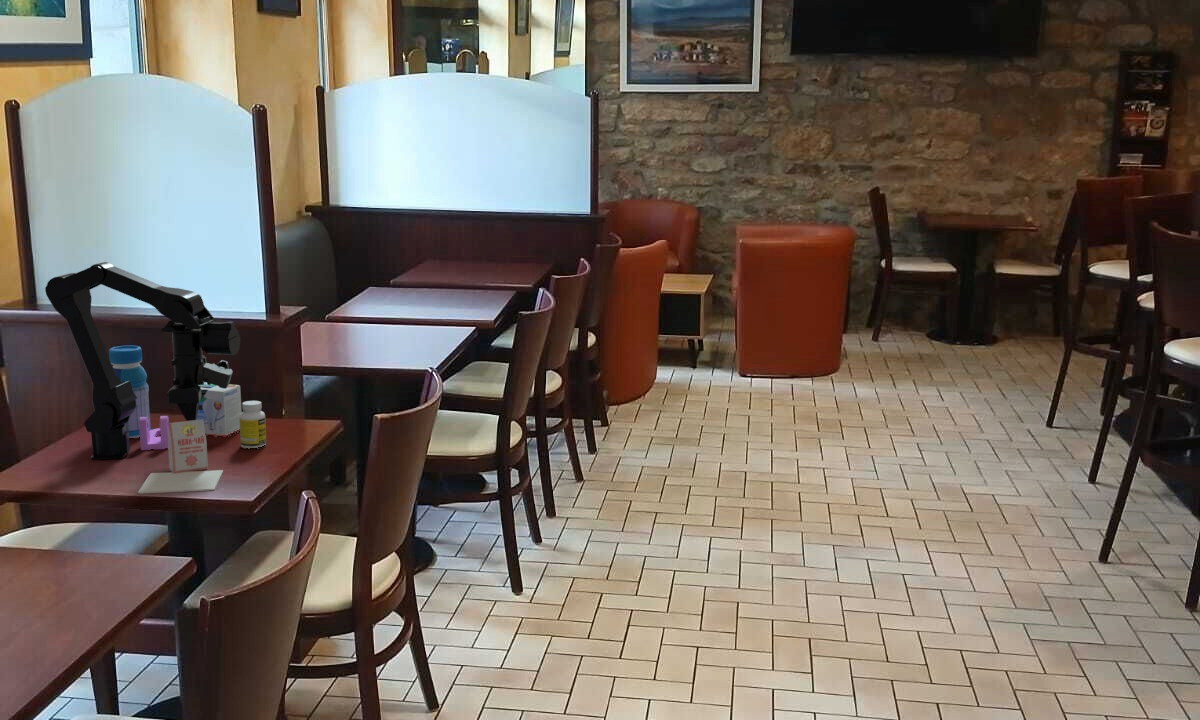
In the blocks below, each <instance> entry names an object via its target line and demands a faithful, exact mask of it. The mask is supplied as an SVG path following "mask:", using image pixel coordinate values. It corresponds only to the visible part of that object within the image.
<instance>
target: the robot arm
mask: <svg viewBox="0 0 1200 720" xmlns="http://www.w3.org/2000/svg"><path fill="white" fill-rule="evenodd" d="M101 285H102V286H105V287H107V288H108V289H111V290H114V291H116V292H119V293H121V294H124V295H126V296H129V297H131V298H133V299H136V300H138V301H140V302H144V303H145V304H147V305H150V306H152V307H153V308H155V309H156V311H157V312H158V313H159V314H160V315H162V316H164V317H165V318H167V319H169V320H168V321H167V323H166V324H165V325H164V326H163V327H162V328H161V329H160V331H161V332H162V333H171V337H172V338H171V339H172V340H171V341H172V352H173V355H172V357H173V359H172V360H171V366H173V369H174V372H173V373H174V379H172V384H173V386H172V387H171V388H170V389H169V390H168V391H167V392H166V393H165V394H166V395H165V396H166V397H165V398H166V403H167V404H176V406H177V407H178V409H179V410H180V412H181V414H182V416H183V417H184V419H185V421H192V420H197V414H198V408H199V403H200V400H201V399H203V397H204V396H205V394H206V393H207V391H208V390H201V386H200V385H204V382H207V384H208V385H211V384H213V385H217V386H219V387H220V388H224V389H226V388H227V386H228V385H229V384H230V381H231V379H232V375H233V373H234V371H233V369H232V368H230V365H229V362H228V361H227V360H223V359H221V360H220V361H218V362H217V364H215V363H208V362H207V356H205V354H203V352H205V353H206V354H207V355H226V356H227V355H228V356H235V355H238V352H239V351H240V346H241V335H240V333H239V330H238V329H237V327H236V326H235V324H236V323H235V321H232V320H231V321H221V322H220V321H216V319H215V318H214V316H213V315H212V314H211V312H210V311H209V310H208V309H207V307H206V306H205V305H204V301H203V298H202V296H201V295H200V294H199V293H197V292H195V291H192V290H187V289H184V288H179V287H168V286H163V285H162V284H161V285H160V284H158V283H156V282H153V281H151V280H148V279H147V278H144V277H141V276H139V275H136V274H134V273H132V272H129V271H128V270H127V271H126V270H125V269H122V268H119V267H117V266H115V265H113V264H112V263H110V262H107V261H104V262H99V263H95V264H92V265H91V266H90V267H88V268H85V269H83V270H80V271H78V272H71V273H66V274H62V275H59V276H55V277H52V278H50V279H49V280H48V281H47V284H46V286H45V287H44V290H45V295H46V297H47V299H48V300H49V301H50V302H49V303H50V304H51V306H52V307H53V309H54V310H55V311H56V312H57V313H58V314H59V315H60V316H62V317H63V319H65V321H66V323H67V325H68V327H69V329H70V330H69V331H70V332H71V335H72V337H73V340H74V342H75V344H76V346H77V349H78V351H79V353H80V356H81V359H82V362H83V364H84V366H85V369H86V371H87V373H88V376H89V378H90V381H91V383H92V390H91V391H92V392H91V403H92V405H93V410H94V411H93V412H92V414H90V416H89V417H88V418H87V419H86V420H84V422H83V425H84V427H85V429H86V431H87V433H91V434H90V435H91V447H92V455H91V456H90V460H110V459H111V460H113V459H124V458H125V457H126V456H127V454H128V453H129V452H130V450H131V446H130V439H129V432H128V431H127V432H126V427H125V423H127V422H128V421H129V418H130V415H131V414H132V413H133V412H134V410H135V408H136V401H135V399H137V396H136V395H135V394H134V392H133V390H132V386H131V383H130V381H127V382H125V383H123V382H122V381H121V380H120V379H119V378H118V377H117V376H116V374H115V372H114V370H113V365H112V364H111V362H110V359H109V354H108V353H107V350H106V347H105V346H104V343H103V340H102V338H101V335H100V333H99V330H98V328H97V325H96V323H95V321H94V318H93V316H92V315H93V314H92V311H91V309H92V295H91V294H92V293H91V290H92V289H94V288H97V287H99V286H101ZM196 318H197V319H196Z"/></svg>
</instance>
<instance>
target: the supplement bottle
mask: <svg viewBox="0 0 1200 720" xmlns="http://www.w3.org/2000/svg"><path fill="white" fill-rule="evenodd" d="M241 409H242V410H243V411H241V412H242V413H241V414H240V418H239V419H240V432H239V436H240V446H241V448H243V449H246V448H248V450H250V448H257V449H259V448H258V447H262V446H264V445H265V446H266V445H267V431H266V430H267V428H266V414H265V412H264V411H262V401H259V400H246V401H243V402H241ZM265 446H264V447H265ZM262 448H263V447H262Z"/></svg>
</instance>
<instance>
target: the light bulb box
mask: <svg viewBox="0 0 1200 720" xmlns="http://www.w3.org/2000/svg"><path fill="white" fill-rule="evenodd" d="M200 386H201V390H208V391H207V393H206V394H205V396H204V397H203V399H201V400H200V403H199V408H198V414H197V420H201V419H203V420H204V428H205V433H206V434H216V435H228V434H230V433H233V432H234V431H237V430H239V429H240V419H239V418H240V414H241V413H242V412H243V411H242V395H241V385H239V384H231V383H229V385H228V386H227V388H226V389H224V388H220V387H219V386H217V385H213V384H211V385H208V384H207V382H204V385H200Z"/></svg>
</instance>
